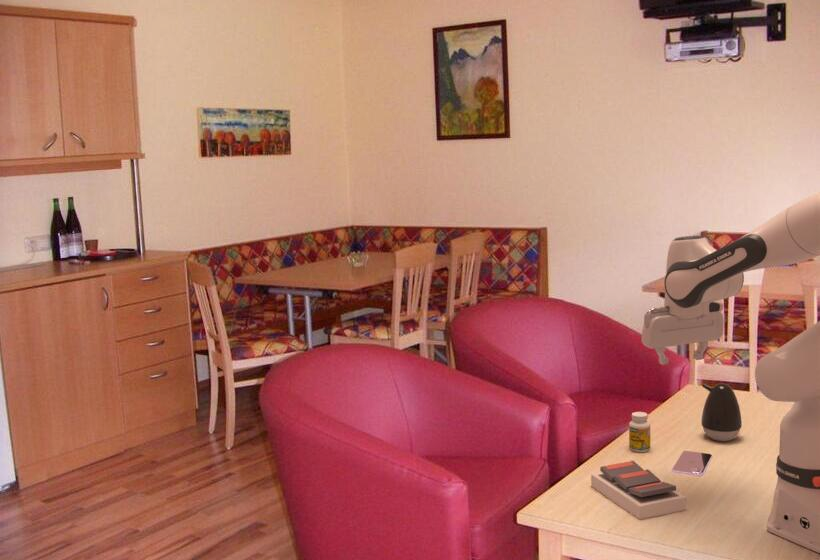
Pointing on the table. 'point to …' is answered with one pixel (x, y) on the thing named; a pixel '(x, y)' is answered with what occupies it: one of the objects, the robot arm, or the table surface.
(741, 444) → the table surface
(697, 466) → the mobile phone
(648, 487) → the rocker
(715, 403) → the pump dispenser
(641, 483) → the rocker
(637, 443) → the supplement bottle
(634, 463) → the block
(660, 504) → the rocker switch panel
